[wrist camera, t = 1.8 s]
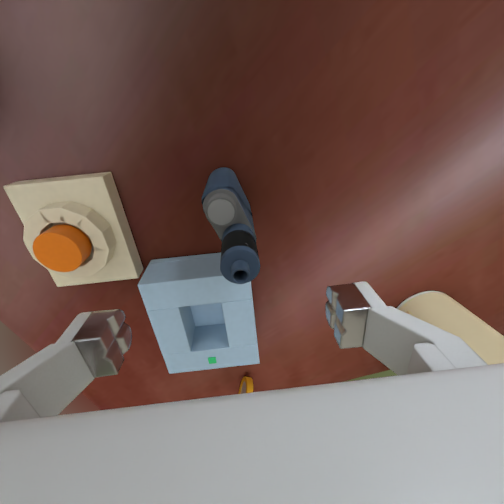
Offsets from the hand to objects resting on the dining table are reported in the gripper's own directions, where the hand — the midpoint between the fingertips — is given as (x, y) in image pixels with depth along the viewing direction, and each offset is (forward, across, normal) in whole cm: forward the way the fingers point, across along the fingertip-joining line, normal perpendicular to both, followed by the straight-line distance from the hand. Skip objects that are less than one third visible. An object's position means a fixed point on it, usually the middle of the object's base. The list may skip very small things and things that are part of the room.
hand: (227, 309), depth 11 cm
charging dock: (+16, +4, +12) cm, 20 cm away
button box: (+16, +14, +2) cm, 21 cm away
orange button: (+13, +14, +2) cm, 19 cm away
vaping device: (+16, 0, 0) cm, 16 cm away
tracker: (+16, +1, +26) cm, 31 cm away
